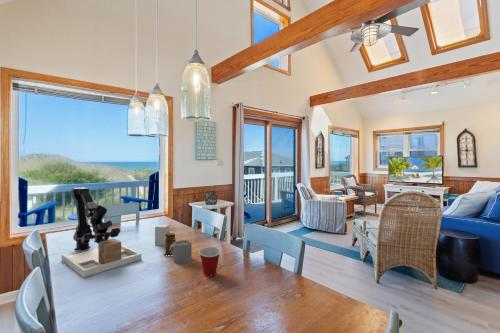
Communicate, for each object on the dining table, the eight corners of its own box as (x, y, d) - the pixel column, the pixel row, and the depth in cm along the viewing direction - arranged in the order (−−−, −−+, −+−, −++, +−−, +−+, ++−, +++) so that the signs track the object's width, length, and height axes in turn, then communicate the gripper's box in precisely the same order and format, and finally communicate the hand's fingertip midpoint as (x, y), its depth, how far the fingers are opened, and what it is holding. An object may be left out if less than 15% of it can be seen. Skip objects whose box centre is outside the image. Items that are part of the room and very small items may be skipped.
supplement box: (164, 246, 166) (164, 227, 166) (154, 245, 168) (154, 226, 167) (170, 242, 173) (170, 224, 173) (160, 242, 175) (160, 224, 175)
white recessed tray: (61, 260, 142) (61, 254, 142) (114, 246, 165) (114, 241, 165) (84, 277, 121) (83, 270, 121) (141, 259, 144) (141, 253, 143)
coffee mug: (195, 258, 145) (195, 241, 145) (182, 264, 136) (182, 246, 136) (178, 254, 152) (178, 237, 152) (165, 259, 143) (165, 242, 143)
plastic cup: (202, 281, 118) (202, 256, 117) (196, 272, 127) (196, 248, 127) (224, 276, 123) (224, 252, 122) (216, 268, 132) (216, 245, 132)
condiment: (175, 251, 158) (175, 232, 158) (177, 255, 150) (177, 235, 150) (163, 252, 155) (163, 233, 154) (165, 257, 147) (165, 237, 147)
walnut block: (98, 262, 136) (98, 242, 136) (114, 257, 142) (113, 238, 142) (105, 266, 130) (105, 245, 130) (121, 261, 136) (121, 241, 136)
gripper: (83, 219, 135) (91, 244, 128) (118, 213, 149) (127, 235, 143) (77, 231, 140) (85, 256, 133) (113, 225, 154) (121, 246, 148)
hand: (106, 248), depth 139 cm, fingers closed, pressing on walnut block
